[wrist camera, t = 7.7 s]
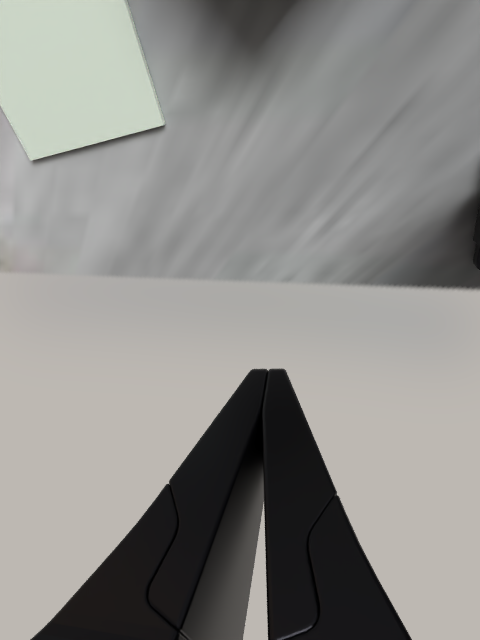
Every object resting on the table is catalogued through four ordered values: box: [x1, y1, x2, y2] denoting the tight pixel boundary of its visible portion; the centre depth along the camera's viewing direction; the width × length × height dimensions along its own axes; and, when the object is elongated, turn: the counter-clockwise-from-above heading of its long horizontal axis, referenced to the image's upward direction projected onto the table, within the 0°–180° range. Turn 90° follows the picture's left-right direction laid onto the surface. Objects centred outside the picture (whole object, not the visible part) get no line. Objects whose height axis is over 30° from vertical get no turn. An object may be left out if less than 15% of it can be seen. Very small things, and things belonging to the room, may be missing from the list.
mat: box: [0, 0, 165, 161], centre depth 15 cm, size 8×8×1 cm
